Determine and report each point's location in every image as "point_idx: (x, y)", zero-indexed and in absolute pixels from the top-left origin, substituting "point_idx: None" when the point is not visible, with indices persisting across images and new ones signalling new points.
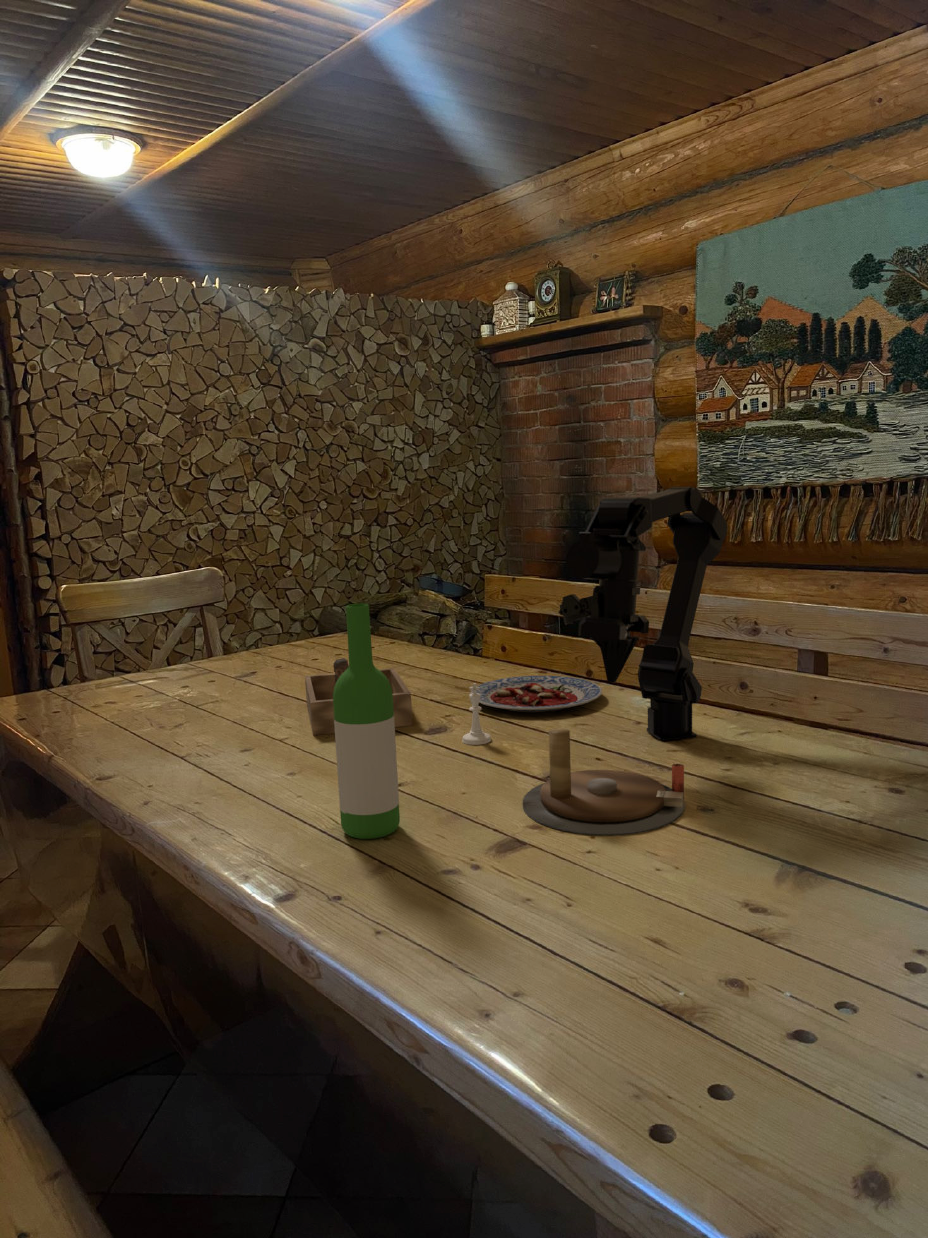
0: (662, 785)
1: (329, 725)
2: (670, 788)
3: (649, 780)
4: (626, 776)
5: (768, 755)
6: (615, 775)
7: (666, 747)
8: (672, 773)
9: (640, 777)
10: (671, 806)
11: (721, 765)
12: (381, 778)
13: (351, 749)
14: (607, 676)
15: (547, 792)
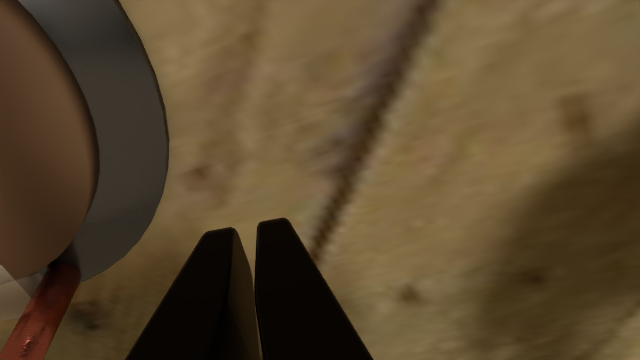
0: (47, 264)
1: None
2: (139, 236)
3: (57, 224)
4: (32, 153)
5: (582, 346)
6: (9, 117)
7: (622, 80)
8: (10, 336)
9: (61, 193)
10: None
11: (446, 278)
12: None
13: None
14: (179, 282)
15: None
